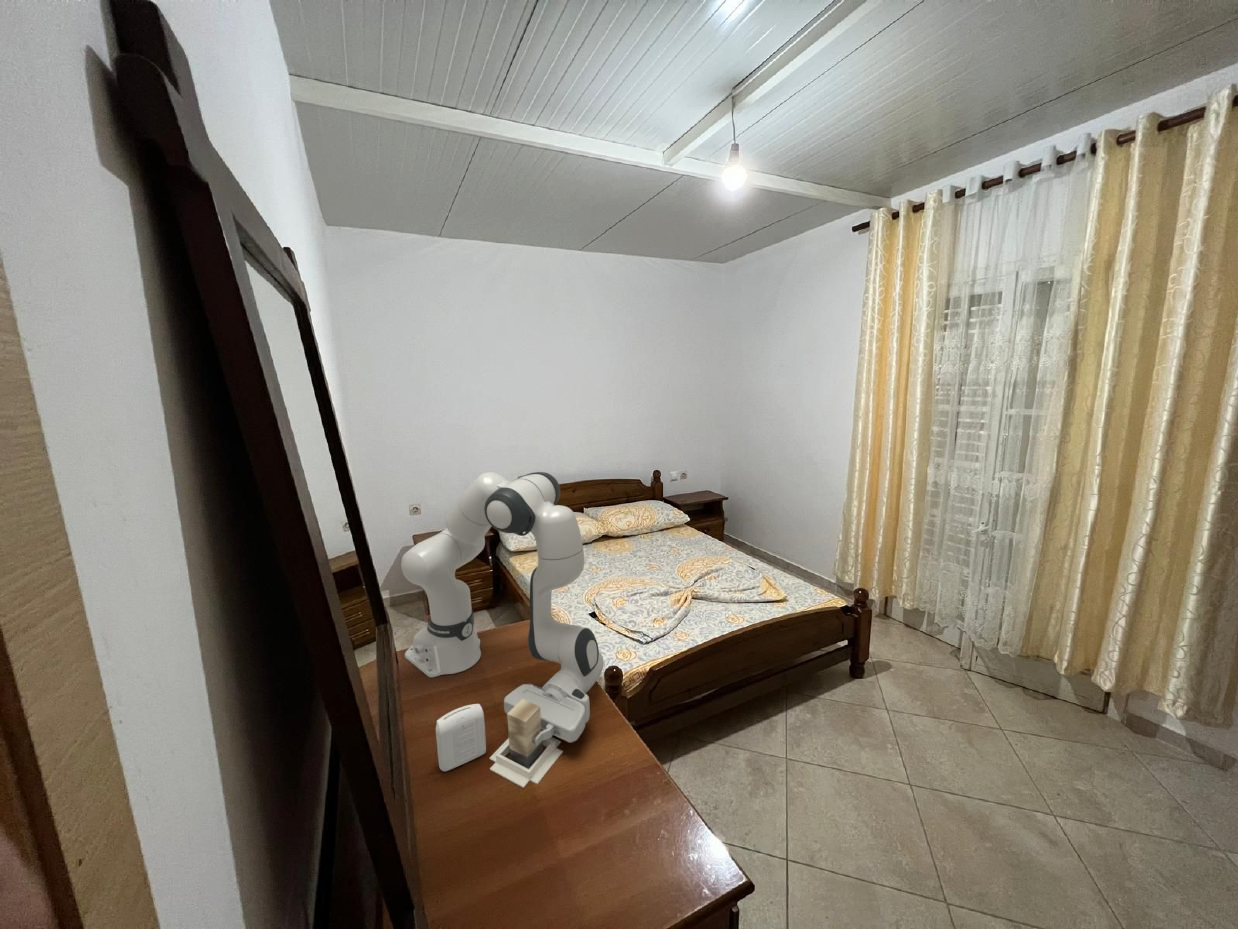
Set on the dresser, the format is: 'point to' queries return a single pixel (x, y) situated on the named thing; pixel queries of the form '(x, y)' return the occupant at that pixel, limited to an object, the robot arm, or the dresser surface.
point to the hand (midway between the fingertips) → (522, 736)
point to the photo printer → (460, 736)
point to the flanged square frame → (521, 773)
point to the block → (524, 733)
